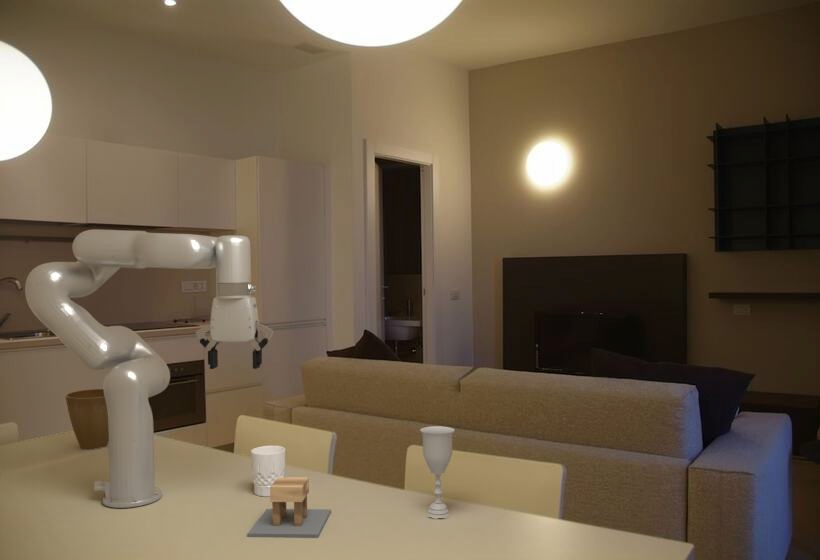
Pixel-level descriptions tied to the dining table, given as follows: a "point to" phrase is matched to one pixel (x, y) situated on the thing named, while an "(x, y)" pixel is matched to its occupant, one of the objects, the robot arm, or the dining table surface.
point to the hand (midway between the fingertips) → (235, 368)
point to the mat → (290, 524)
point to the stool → (289, 498)
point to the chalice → (437, 462)
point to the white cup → (267, 467)
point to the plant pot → (89, 417)
